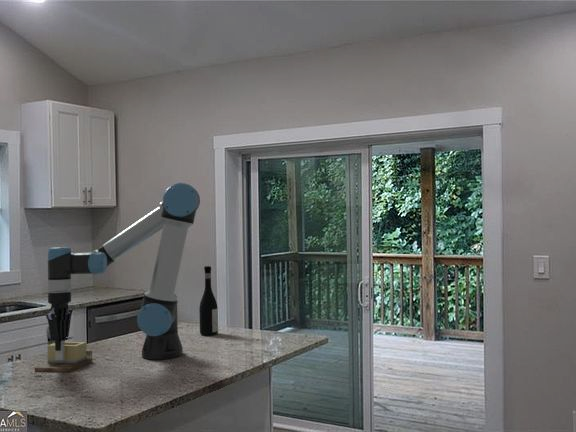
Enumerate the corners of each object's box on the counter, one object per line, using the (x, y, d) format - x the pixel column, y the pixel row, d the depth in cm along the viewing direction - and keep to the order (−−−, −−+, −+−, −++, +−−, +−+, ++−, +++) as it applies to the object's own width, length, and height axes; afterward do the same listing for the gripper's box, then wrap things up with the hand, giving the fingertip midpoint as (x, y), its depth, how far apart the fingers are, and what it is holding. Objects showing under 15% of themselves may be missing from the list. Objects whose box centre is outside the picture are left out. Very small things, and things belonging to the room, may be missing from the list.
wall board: (92, 361, 213) (92, 348, 213) (69, 372, 198) (69, 358, 198) (59, 360, 215) (59, 348, 215) (34, 371, 201) (34, 357, 201)
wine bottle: (218, 332, 263) (217, 265, 263) (217, 335, 255) (216, 266, 255) (200, 332, 263) (199, 265, 263) (198, 336, 255) (197, 267, 255)
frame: (86, 358, 212) (86, 342, 212) (76, 363, 205) (75, 346, 205) (59, 358, 214) (58, 341, 214) (47, 362, 207) (47, 345, 207)
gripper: (60, 289, 212) (60, 355, 211) (38, 293, 199) (39, 363, 198) (79, 289, 210) (79, 355, 210) (58, 293, 198) (59, 363, 197)
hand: (59, 359), depth 204 cm, fingers closed
